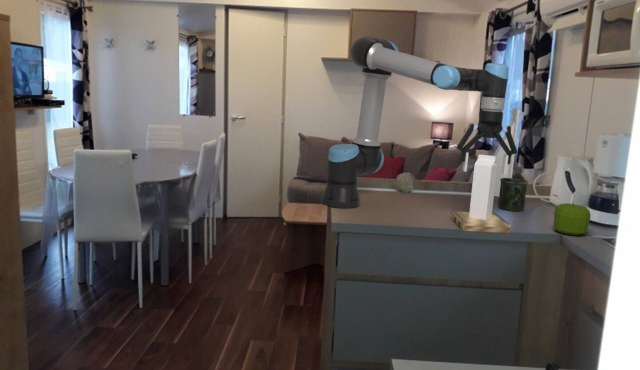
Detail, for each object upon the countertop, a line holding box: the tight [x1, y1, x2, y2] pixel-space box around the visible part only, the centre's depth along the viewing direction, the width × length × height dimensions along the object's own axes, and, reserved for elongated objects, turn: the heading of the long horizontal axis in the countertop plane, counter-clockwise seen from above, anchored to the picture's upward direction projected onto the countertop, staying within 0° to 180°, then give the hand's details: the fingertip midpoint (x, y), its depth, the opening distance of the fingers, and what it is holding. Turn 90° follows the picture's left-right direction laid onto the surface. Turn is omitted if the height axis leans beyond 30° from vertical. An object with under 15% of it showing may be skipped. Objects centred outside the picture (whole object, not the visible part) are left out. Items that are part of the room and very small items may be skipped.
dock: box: [450, 210, 512, 234], centre depth 185 cm, size 16×16×3 cm
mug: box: [497, 177, 529, 212], centre depth 214 cm, size 11×15×12 cm
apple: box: [553, 202, 591, 236], centre depth 181 cm, size 11×11×11 cm
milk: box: [469, 153, 497, 221], centre depth 183 cm, size 6×6×22 cm
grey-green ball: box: [393, 172, 416, 193], centre depth 242 cm, size 9×8×10 cm
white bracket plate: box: [493, 108, 521, 198], centre depth 244 cm, size 20×14×40 cm
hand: (483, 172), depth 182 cm, fingers open, 13 cm apart
